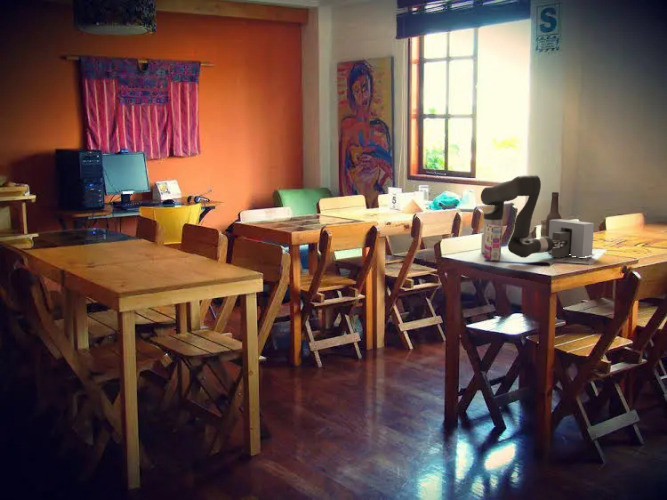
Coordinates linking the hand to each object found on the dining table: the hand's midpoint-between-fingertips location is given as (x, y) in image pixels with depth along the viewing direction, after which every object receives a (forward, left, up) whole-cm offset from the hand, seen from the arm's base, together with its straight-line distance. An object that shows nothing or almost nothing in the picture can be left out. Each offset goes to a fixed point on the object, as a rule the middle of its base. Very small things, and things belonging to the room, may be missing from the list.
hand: (562, 242), depth 382 cm
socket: (+7, 0, -7) cm, 10 cm away
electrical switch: (+1, +22, -8) cm, 23 cm away
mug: (+36, +30, -8) cm, 47 cm away
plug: (-1, 0, -7) cm, 7 cm away
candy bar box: (-33, +16, -8) cm, 38 cm away
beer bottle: (+15, +16, -8) cm, 23 cm away
